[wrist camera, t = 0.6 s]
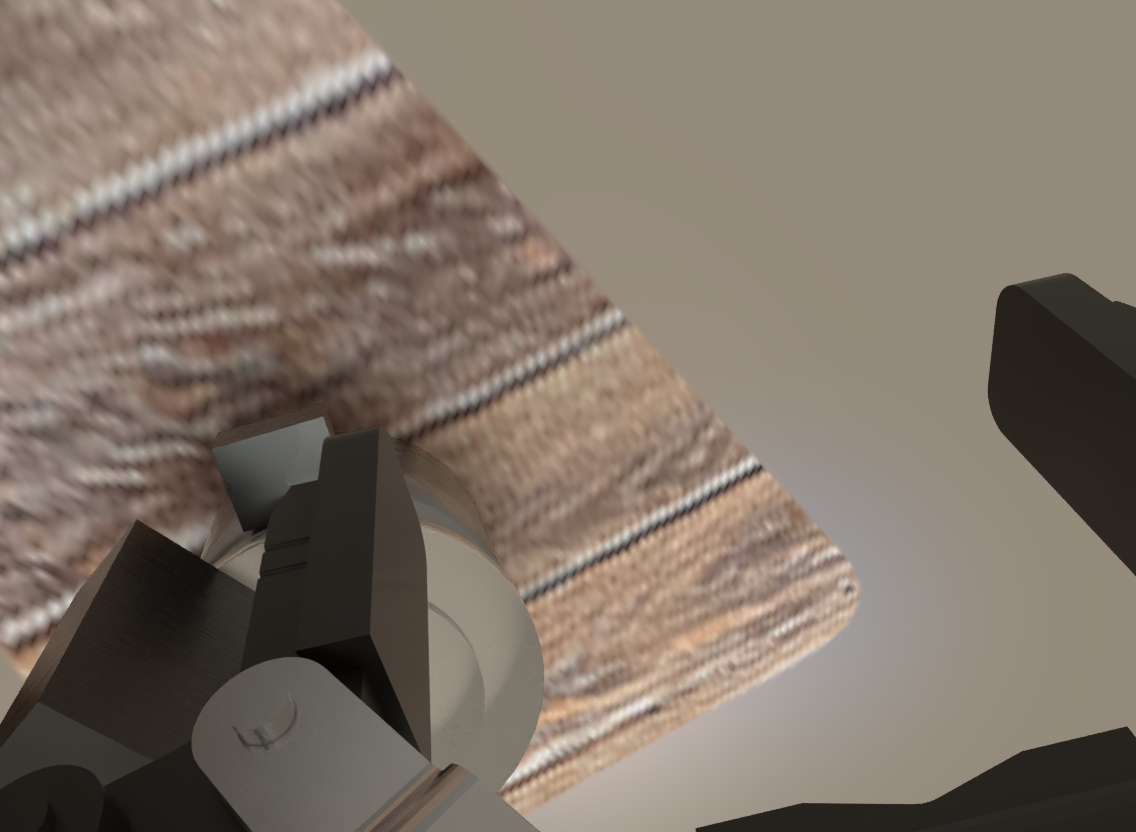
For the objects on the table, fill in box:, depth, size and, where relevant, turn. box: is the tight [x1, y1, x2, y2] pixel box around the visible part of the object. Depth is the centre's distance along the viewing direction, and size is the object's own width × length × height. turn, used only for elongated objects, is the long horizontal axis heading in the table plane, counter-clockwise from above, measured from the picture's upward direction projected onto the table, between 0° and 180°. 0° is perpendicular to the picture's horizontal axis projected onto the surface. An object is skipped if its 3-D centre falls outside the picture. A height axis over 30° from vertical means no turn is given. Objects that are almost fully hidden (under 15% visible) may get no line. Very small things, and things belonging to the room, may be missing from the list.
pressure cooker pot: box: [201, 402, 499, 566], centre depth 30 cm, size 14×10×8 cm
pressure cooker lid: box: [0, 518, 544, 793], centre depth 22 cm, size 13×11×9 cm
